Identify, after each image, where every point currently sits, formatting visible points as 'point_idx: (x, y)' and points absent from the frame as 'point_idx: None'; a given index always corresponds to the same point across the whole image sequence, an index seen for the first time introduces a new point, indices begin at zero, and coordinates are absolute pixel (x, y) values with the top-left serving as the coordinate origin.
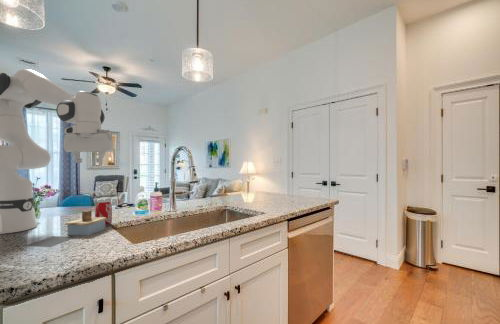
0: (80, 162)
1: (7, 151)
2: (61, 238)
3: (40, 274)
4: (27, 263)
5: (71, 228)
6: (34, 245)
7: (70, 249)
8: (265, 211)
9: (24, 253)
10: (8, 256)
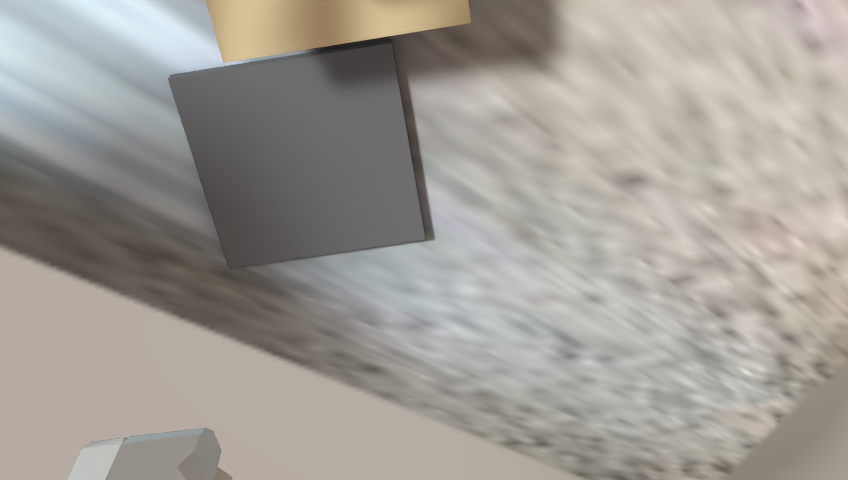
0: (216, 461)
1: None
2: (307, 102)
3: (700, 434)
4: (524, 387)
5: None
6: (290, 250)
7: (565, 216)
8: None
9: (355, 318)
10: (321, 361)
